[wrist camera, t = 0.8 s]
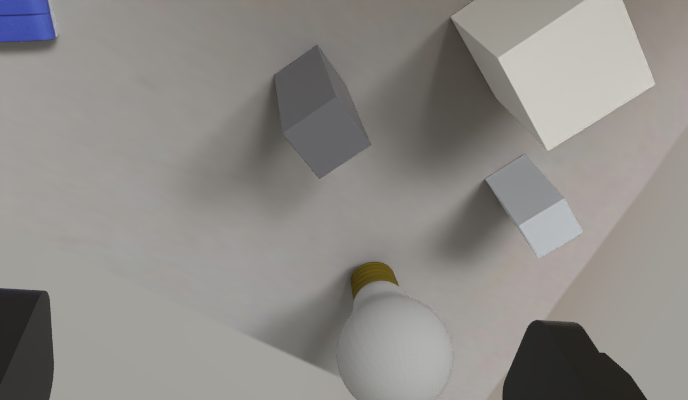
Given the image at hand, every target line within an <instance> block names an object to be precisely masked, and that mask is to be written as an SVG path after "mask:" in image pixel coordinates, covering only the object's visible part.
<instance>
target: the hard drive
mask: <svg viewBox="0 0 688 400" xmlns="http://www.w3.org/2000/svg"><path fill="white" fill-rule="evenodd" d="M58 34H59V32H58V28H57V24H56V19H55V15H54V11H53V6H52V1H51V0H0V42H16V41H17V42H20V41H42V40H53V39H55V38H56V37H57V36H58Z"/></svg>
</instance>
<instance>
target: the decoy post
mask: <svg viewBox="0 0 688 400" xmlns="http://www.w3.org/2000/svg"><path fill="white" fill-rule="evenodd" d="M485 180H486V181H487V183H488V184H489V186H490V188H491V189H492V191H493V192H494V194H495V196H496V197H497V199H498V200H499V202H500V204H501V205H502V207H503V208H504V210H505V211H506V213H507V214H508V216H509V217H510V218H511V220H512V221H513V223H514V224H515V226H516V227H517V228H518V230H519V231H520V233H521V234H522V235H523V237H524V238H525V240H526V241H527V243H528V244H529V245H530V247H531V248H532V250H533V251H534V252H535V254H536V255H537V257H538V258H541V257H542V256H544V255H546V254H547V253H549V252H551V251H553V250H554V249H556V248H558V247H559V246H561V245H563V244H564V243H566V242H568V241H569V240H571V239H573V238H575V237H576V236H578V235H580V234H581V233H583V231H582V229H581V227H580V226H579V224H578V222H577V220H576V218H575V216H574V215H573V213H572V211H571V209H570V207H569V206H568V204H567V202H566V200H565V198H564V197H563V196H562V195H561V194H560V193H559V191H558V190H557V189H556V188H555V187H554V186H553V185H552V184H551V182H550V181H549V180H548V179H547V178H546V177H545V176H544V175H543V173H542V172H541V171H540V170H539V169H538V168H537V167H536V166H535V164H534V163H533V162H532V161H531V160H530V159H529V158H528V157H527V156H526V154H524V155H522V156H521V157H519V158H518V159H516V160H514V161H513V162H511V163H510V164H508V165H506V166H505V167H503V168H502V169H500V170H498V171H497V172H495V173H494V174H492V175H490V176H489V177H487V178H486V179H485Z"/></svg>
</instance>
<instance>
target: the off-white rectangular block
mask: <svg viewBox="0 0 688 400" xmlns="http://www.w3.org/2000/svg"><path fill="white" fill-rule="evenodd" d="M451 19H452V21H453V23H454V25H455V26H456V28H457V30H458V32H459V34H460V35H461V37H462V39H463V41H464V42H465V44H466V46H467V48H468V50H469V51H470V53H471V55H472V57H473V58H474V60H475V62H476V64H477V66H478V67H479V69H480V71H481V73H482V74H483V76H484V78H485V80H486V82H487V83H488V85H489V87H490V89H491V90H492V92H493V94H494V96H495V98H496V99H497V100H498V101H499V102H500V103H501V104H502V105H503V106H504V107H505V108H506V109H507V110H508V111H509V112H510V113H511V114H512V115H513V116H514V117H515V118H516V119H517V120H518V121H519V122H520V123H521V124H522V125H523V126H524V127H525V128H526V130H527V131H528V132H529V133H530V134H531V135H532V136H533V137H534V138H535V139H536V140H537V141H538V142H539V143H540V144H541V145H542V146H543V147H544V148H545V149H546V150H547V151H549V150H551V149H552V148H554V147H556V146H557V145H559V144H561V143H562V142H564V141H565V140H567V139H569V138H570V137H572V136H573V135H575V134H577V133H578V132H580V131H581V130H583V129H585V128H586V127H588V126H589V125H591V124H593V123H594V122H596V121H597V120H599V119H601V118H602V117H604V116H606V115H607V114H609V113H610V112H612V111H614V110H615V109H617V108H618V107H620V106H622V105H623V104H625V103H626V102H628V101H630V100H631V99H633V98H634V97H636V96H638V95H639V94H641V93H642V92H644V91H646V90H647V89H649V88H651V87H652V86H654V85H655V82H654V79H653V77H652V74H651V72H650V69H649V66H648V64H647V61H646V59H645V56H644V54H643V51H642V49H641V46H640V43H639V41H638V38H637V36H636V33H635V31H634V28H633V26H632V23H631V20H630V18H629V15H628V13H627V10H626V8H625V5H624V3H623V0H474V1H473V2H471V3H470V4H468V5H467V6H465V7H464V8H462V9H461V10H459V11H458V12H457V13H455V14H454V15H452V16H451Z"/></svg>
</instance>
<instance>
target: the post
mask: <svg viewBox="0 0 688 400" xmlns="http://www.w3.org/2000/svg"><path fill="white" fill-rule="evenodd" d="M274 78H275V85H276V92H277V99H278V106H279V113H280V120H281V127H282V134H283V135H284V136H285V137H286V139H287V140H288V141H289V142H290V143H291V145H292V146H293V147H294V148H295V150H296V151H297V152H298V153H299V155H300V156H301V157H302V158H303V160H304V161H305V162H306V163H307V164H308V166H309V167H310V168H311V169H312V171H313V172H314V173H315V174H316V176H317V177H318V178H319V179H320V178H322V177H323V176H325V175H326V174H328V173H329V172H331V171H332V170H334V169H335V168H337V167H338V166H340V165H341V164H343V163H344V162H346V161H347V160H349V159H350V158H352V157H353V156H355V155H356V154H358V153H359V152H361V151H362V150H364V149H365V148H367V147H368V146H370V145H371V143H370V141H369V139H368V136H367V134H366V131H365V129H364V127H363V124H362V122H361V120H360V117H359V115H358V113H357V110H356V108H355V105H354V103H353V101H352V98H351V96H350V94H349V91H348V89H347V87H346V85H345V83H344V82H343V81H342V79H341V78H340V76H339V75H338V74H337V72H336V71H335V69H334V68H333V67H332V65H331V64H330V62H329V61H328V59H327V58H326V57H325V55H324V54H323V52H322V51H321V50H320V48H319V47H318V45H316V46H315V47H313V48H312V49H311V50H309V51H308V52H306V53H305V54H304V55H302V56H301V57H299V58H298V59H297V60H295V61H294V62H292V63H291V64H289V65H288V66H287V67H285V68H284V69H282V70H281V71H280V72H278V73H277V74H275V75H274Z"/></svg>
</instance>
